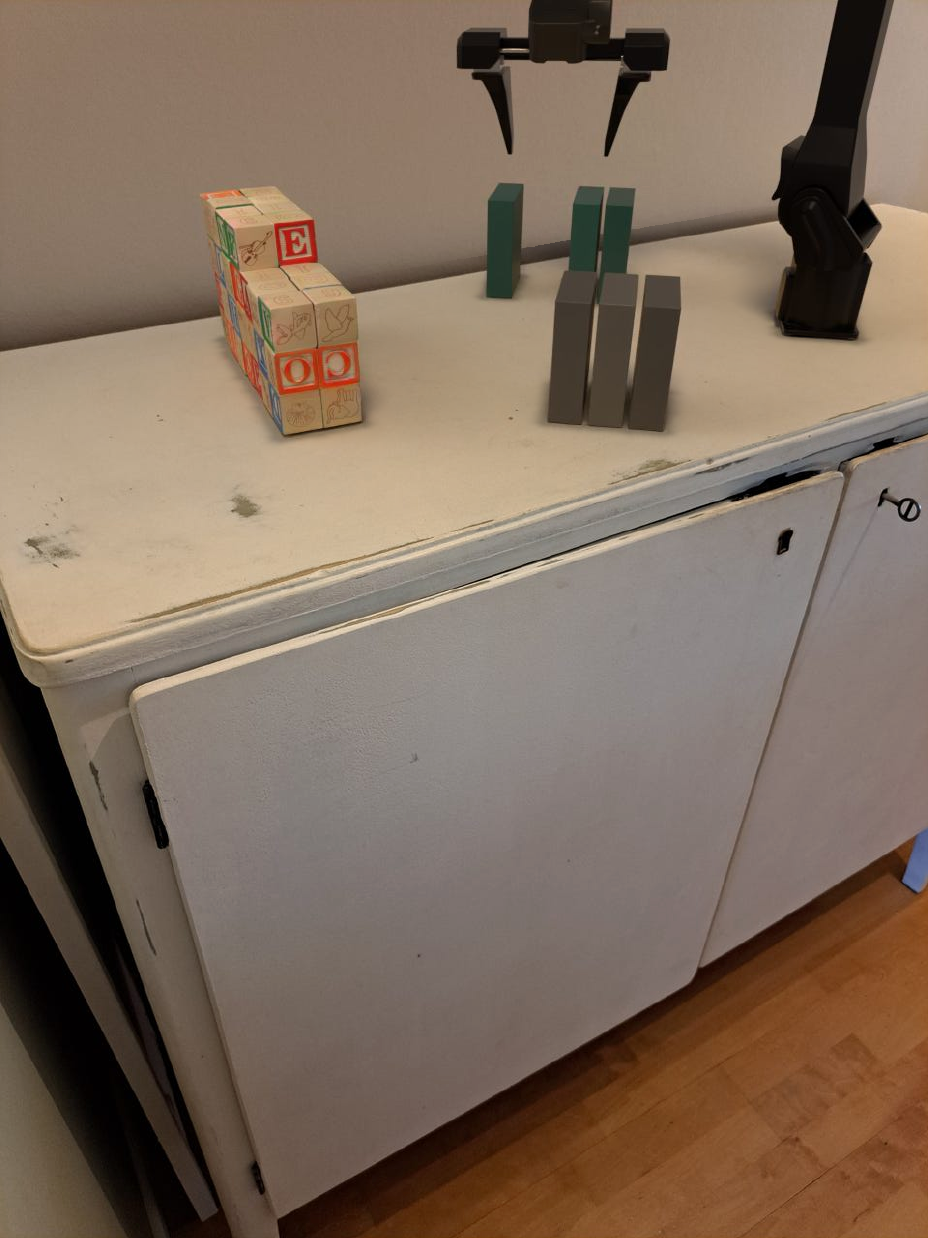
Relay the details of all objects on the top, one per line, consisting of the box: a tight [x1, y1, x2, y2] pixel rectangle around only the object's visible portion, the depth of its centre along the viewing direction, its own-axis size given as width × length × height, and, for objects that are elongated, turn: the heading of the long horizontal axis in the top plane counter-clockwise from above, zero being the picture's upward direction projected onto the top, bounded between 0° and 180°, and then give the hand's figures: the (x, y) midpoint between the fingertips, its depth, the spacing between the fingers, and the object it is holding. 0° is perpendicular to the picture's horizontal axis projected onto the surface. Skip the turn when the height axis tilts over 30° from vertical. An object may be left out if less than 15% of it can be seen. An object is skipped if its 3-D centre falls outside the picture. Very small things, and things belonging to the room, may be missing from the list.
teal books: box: [567, 185, 636, 305], centre depth 88 cm, size 6×7×9 cm
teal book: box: [485, 182, 525, 299], centre depth 89 cm, size 2×7×9 cm, turn 170°
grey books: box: [547, 269, 682, 432], centre depth 67 cm, size 8×7×9 cm
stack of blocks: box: [199, 185, 363, 436], centre depth 70 cm, size 21×6×12 cm, turn 23°
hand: (557, 154), depth 87 cm, fingers open, 9 cm apart
